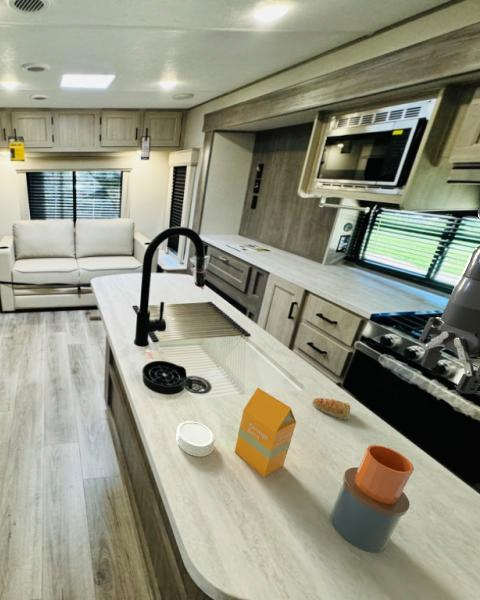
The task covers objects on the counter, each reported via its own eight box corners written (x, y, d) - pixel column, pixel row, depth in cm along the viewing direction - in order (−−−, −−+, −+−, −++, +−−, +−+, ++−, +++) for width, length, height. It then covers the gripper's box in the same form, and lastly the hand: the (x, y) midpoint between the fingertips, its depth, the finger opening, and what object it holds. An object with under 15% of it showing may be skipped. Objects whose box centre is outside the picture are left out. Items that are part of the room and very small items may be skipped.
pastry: (311, 410, 99) (314, 401, 98) (311, 399, 104) (314, 389, 103) (349, 422, 94) (353, 412, 93) (347, 409, 99) (351, 400, 98)
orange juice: (253, 441, 88) (267, 383, 81) (283, 465, 80) (302, 403, 73) (233, 451, 85) (246, 391, 78) (263, 477, 77) (281, 414, 70)
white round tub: (221, 451, 85) (223, 442, 84) (190, 461, 82) (191, 451, 81) (197, 426, 94) (199, 417, 92) (169, 434, 91) (170, 425, 90)
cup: (384, 477, 64) (397, 447, 61) (406, 507, 58) (423, 476, 55) (347, 471, 65) (359, 442, 62) (366, 500, 59) (380, 469, 56)
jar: (369, 511, 69) (387, 471, 65) (399, 559, 61) (423, 517, 56) (320, 502, 71) (335, 463, 67) (342, 548, 63) (361, 506, 58)
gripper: (554, 321, 48) (504, 405, 54) (470, 291, 61) (437, 361, 67) (493, 317, 50) (451, 399, 56) (424, 288, 63) (396, 357, 69)
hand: (444, 378), depth 62 cm, fingers open, 8 cm apart
